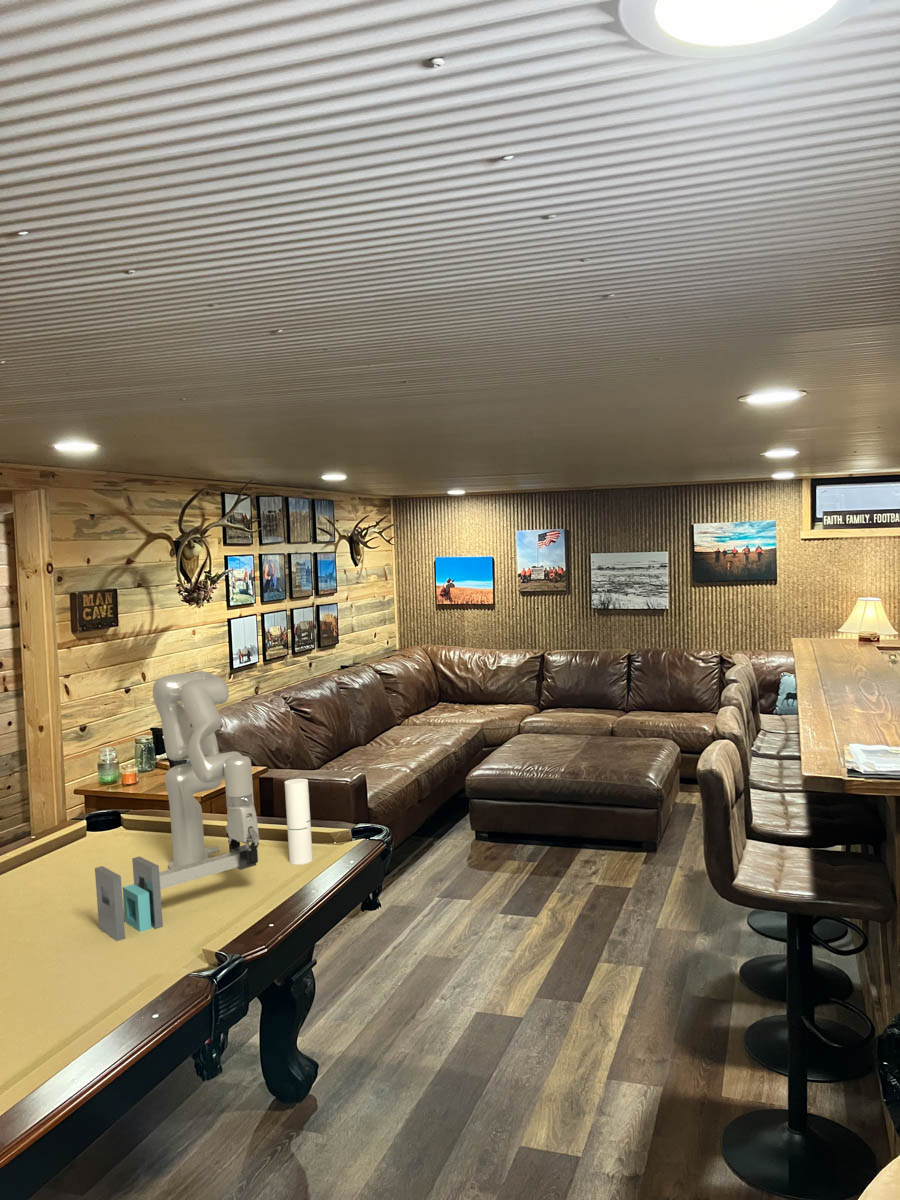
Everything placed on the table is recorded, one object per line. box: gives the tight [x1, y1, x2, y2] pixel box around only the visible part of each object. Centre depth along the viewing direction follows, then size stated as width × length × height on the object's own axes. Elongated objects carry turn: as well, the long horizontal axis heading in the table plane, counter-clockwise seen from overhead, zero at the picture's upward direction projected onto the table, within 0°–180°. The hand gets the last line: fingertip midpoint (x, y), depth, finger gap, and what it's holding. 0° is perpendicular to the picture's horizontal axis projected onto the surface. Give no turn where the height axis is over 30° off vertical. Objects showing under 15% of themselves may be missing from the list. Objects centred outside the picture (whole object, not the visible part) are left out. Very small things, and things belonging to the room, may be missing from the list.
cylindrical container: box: [284, 778, 314, 866], centre depth 286 cm, size 7×7×25 cm
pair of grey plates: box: [94, 856, 164, 942], centre depth 239 cm, size 12×12×16 cm
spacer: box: [122, 883, 152, 933], centre depth 240 cm, size 3×10×10 cm, turn 42°
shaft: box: [144, 844, 257, 891], centre depth 253 cm, size 31×5×5 cm, turn 132°
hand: (243, 860), depth 261 cm, fingers open, 9 cm apart
